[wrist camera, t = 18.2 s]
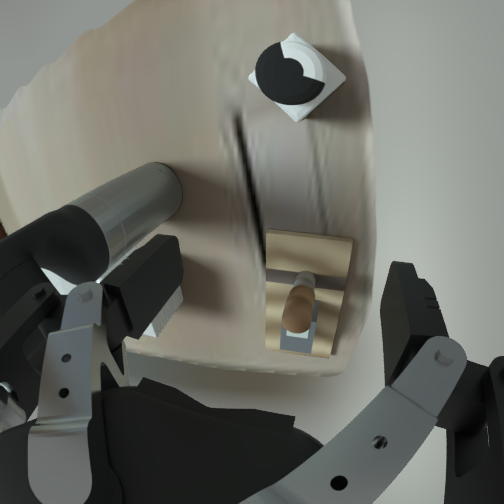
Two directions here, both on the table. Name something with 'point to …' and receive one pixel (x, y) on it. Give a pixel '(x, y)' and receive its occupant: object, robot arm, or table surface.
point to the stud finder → (299, 335)
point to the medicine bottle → (296, 76)
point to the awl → (300, 304)
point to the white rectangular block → (66, 287)
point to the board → (326, 286)
